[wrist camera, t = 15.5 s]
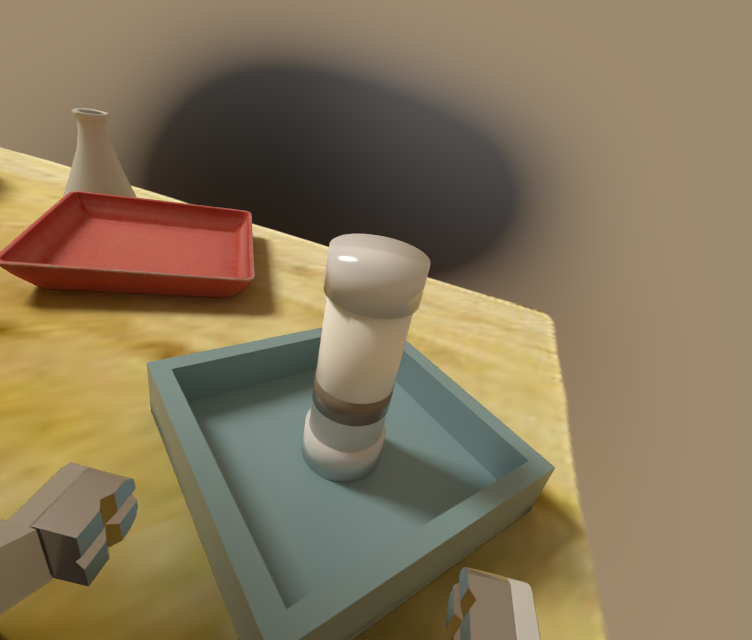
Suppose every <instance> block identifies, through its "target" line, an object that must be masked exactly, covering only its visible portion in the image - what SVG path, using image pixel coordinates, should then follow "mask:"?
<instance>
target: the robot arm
mask: <svg viewBox="0 0 752 640" xmlns="http://www.w3.org/2000/svg"><path fill="white" fill-rule="evenodd" d="M134 490H135V483H134V479H131V478H127V477H123V476H120V475H116V474H112V473H108V472H105V471H101V470H97V469H94V468H92V467H88V466H84V465H80V464H76V463H72V462H71V463H69V464H67V465H66V466H64V467H62V468H61V469H60V470H59V471H58V472H57V473H56V474H55V475H54V476H53V477H52V478H51V479H50V480H49V481H48V482H47V483H46V484H45V485H43V486H42V487H41V488H40V489H39V490H38V491H37V492H36V493H35V494H34V495H33V496H32V497H31V498H30V499H29V500H28V501H27V502H26V503H25V504H24V505H23V506H22V507H21V508H20V509H19V510H18V511H17V512H16V513H15V514H14V515H13V516H12V517H11V518H10V519H9V520H8V521H6V520H0V615H1V614H2V613H4V612H5V611H7V610H8V609H10V608H11V607H13V606H14V605H16V604H17V603H19V602H20V601H22V600H23V599H25V598H26V597H28V596H29V595H31V594H32V593H34V592H35V591H37V590H38V589H40V588H41V587H43V586H44V585H46V584H47V583H49V582H50V581H52V578H56V579H60V580H64V581H69V582H73V583H77V584H81V585H85V586H89V585H90V584H91V583H92V581H93V580H94V578H95V577H96V576H97V574H98V573H99V572H100V570H101V569H102V567H103V566H104V565H105V563H106V562H107V561H108V559H109V547H111V546H113V545H115V544H116V543H118V542H120V541H122V540H123V538H124V537H125V536H126V534H127V533H128V531H129V530H130V528H131V526H132V524H133V522H134V519H135V517H136V514H137V508H138V505H137V500H136V499H135V498H134V496H133V495H132V494H131V493H132V492H133V491H134ZM446 628H447V630H448V632H449V634H450V636H451V638H452V640H541V639H540V634H539V628H538V622H537V616H536V610H535V605H534V599H533V593H532V589H531V587H530V585H529V584H528V583H526V582H523V581H519V580H515V579H511V578H507V577H505V576H501V575H497V574H493V573H489V572H485V571H481V570H477V569H473V568H469V567H464V568H462V570H461V572H460V574H459V583H457V584H455V585H454V586H453V588H452V590H451V592H450V596H449V600H448V605H447V619H446Z"/></svg>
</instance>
